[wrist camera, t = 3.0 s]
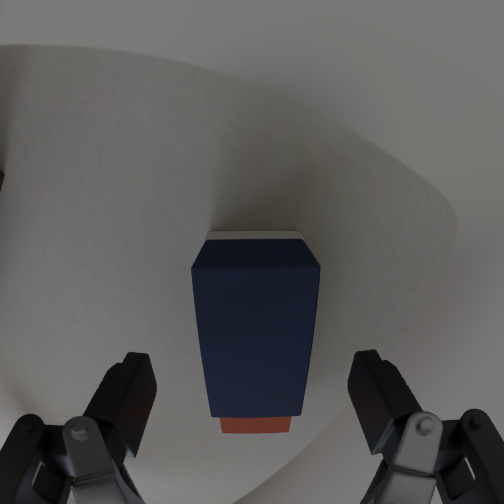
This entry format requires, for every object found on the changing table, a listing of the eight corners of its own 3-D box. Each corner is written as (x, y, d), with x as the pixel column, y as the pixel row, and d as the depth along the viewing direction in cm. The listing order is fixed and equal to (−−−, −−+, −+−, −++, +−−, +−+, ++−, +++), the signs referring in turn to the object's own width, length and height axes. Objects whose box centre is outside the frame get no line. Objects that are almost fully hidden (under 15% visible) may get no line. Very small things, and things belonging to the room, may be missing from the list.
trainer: (208, 231, 14) (187, 267, 9) (299, 230, 14) (324, 265, 9) (222, 397, 18) (216, 454, 13) (287, 396, 18) (294, 452, 13)
